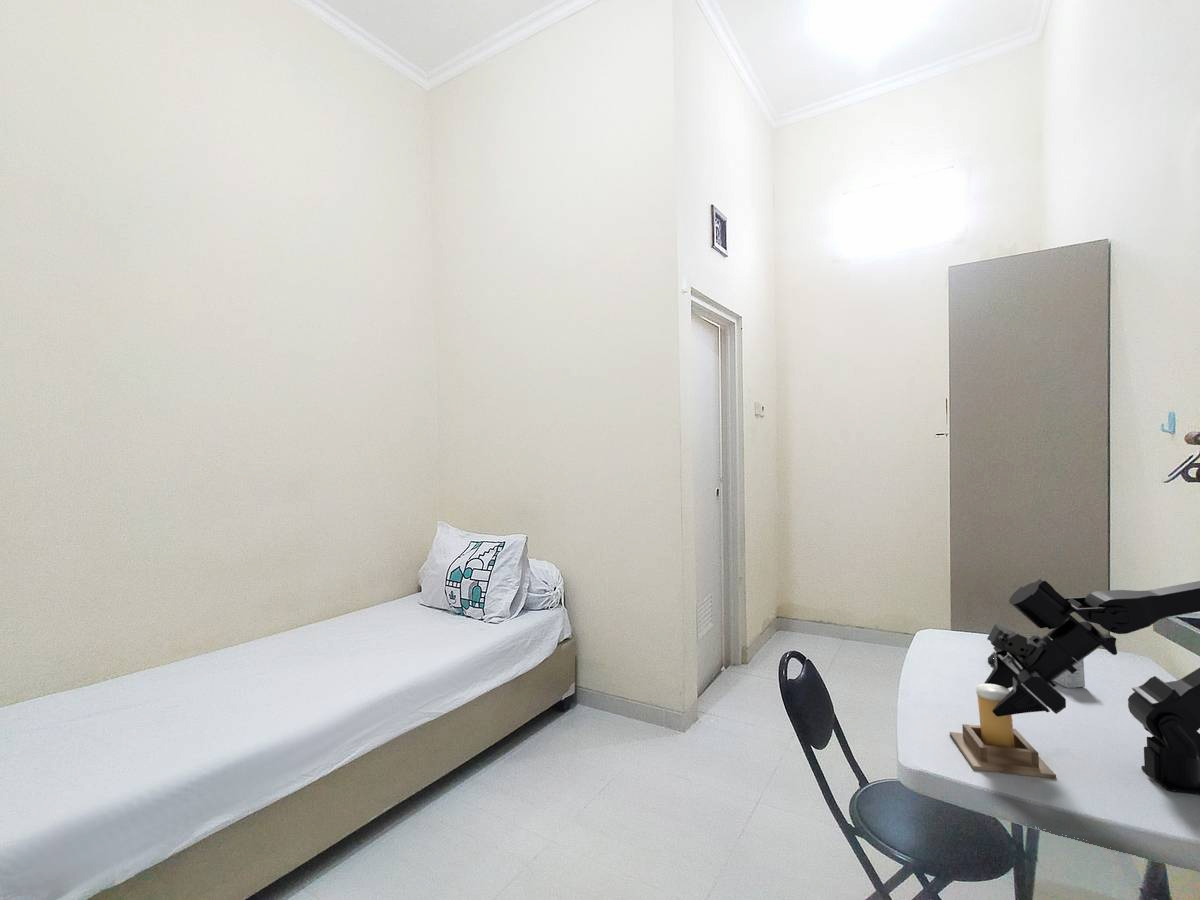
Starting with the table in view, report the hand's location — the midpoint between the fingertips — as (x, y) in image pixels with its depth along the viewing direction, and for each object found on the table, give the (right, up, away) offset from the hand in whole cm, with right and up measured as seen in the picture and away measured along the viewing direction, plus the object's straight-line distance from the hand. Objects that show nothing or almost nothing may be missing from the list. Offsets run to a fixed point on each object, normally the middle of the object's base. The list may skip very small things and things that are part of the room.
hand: (987, 703), depth 100 cm
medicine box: (+38, -9, +30) cm, 49 cm away
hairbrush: (+38, -9, +46) cm, 60 cm away
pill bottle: (+2, -8, -1) cm, 8 cm away
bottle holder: (+2, -9, -1) cm, 9 cm away
